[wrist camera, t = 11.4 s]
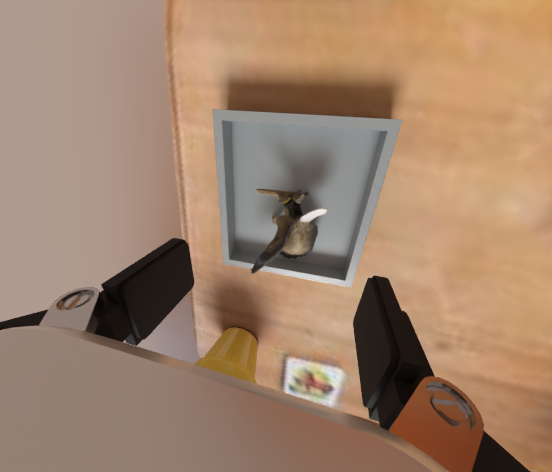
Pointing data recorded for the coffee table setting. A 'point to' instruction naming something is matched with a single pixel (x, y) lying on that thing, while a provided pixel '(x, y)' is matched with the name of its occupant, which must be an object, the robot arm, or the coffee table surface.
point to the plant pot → (233, 355)
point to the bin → (300, 185)
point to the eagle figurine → (290, 229)
